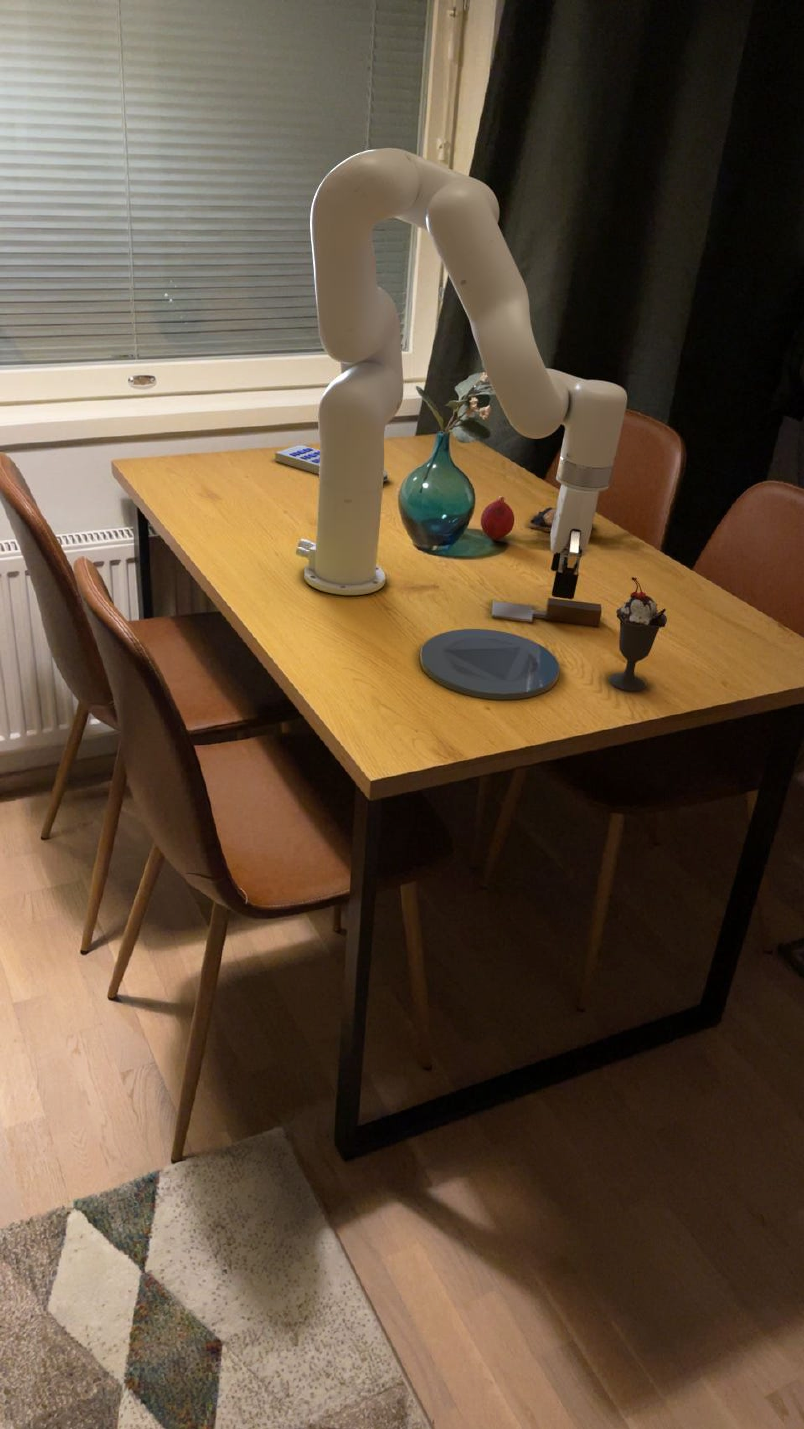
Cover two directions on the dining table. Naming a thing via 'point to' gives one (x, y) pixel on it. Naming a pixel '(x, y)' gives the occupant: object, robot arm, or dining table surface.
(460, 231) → the robot arm
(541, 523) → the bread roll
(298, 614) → the dining table surface
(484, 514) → the onion
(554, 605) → the spatula
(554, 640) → the dining table surface
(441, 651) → the plate
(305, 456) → the remote control
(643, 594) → the sundae
